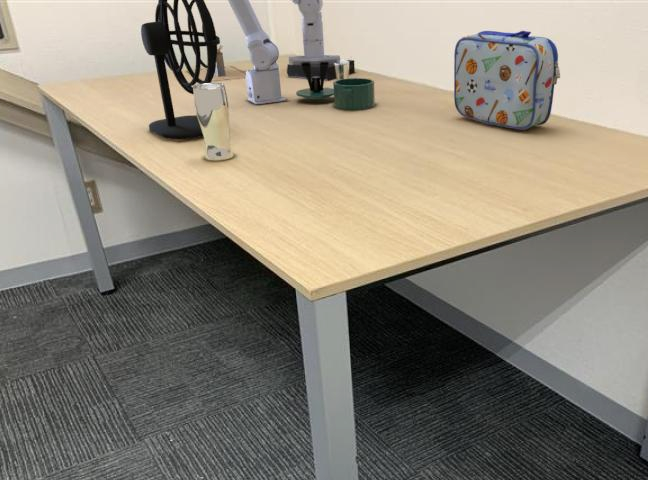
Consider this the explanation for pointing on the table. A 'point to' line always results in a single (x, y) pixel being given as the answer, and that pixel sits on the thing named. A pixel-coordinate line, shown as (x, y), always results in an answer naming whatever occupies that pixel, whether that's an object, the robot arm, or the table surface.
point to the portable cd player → (316, 70)
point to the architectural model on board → (222, 70)
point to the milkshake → (342, 69)
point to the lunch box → (505, 78)
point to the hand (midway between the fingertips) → (316, 90)
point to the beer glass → (213, 119)
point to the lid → (315, 90)
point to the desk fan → (162, 49)
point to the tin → (354, 93)
